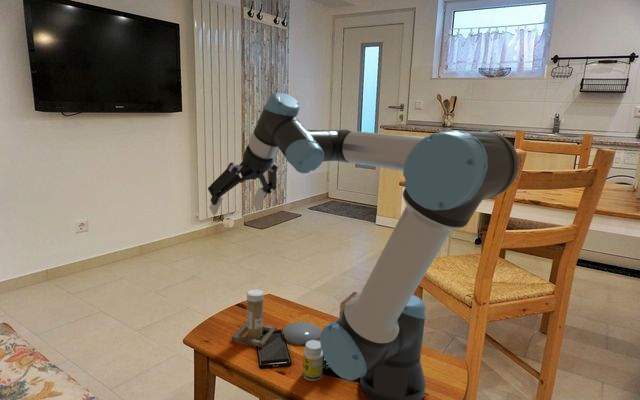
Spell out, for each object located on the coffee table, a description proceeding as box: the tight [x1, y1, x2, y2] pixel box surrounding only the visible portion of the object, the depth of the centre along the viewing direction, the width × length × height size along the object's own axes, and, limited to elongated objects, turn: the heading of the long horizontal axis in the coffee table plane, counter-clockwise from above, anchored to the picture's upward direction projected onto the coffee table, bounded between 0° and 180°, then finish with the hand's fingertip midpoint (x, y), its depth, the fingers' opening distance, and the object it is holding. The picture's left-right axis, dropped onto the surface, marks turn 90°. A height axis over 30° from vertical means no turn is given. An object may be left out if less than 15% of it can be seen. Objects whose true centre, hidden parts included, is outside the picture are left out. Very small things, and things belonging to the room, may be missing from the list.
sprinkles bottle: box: [246, 289, 265, 339], centre depth 117 cm, size 5×5×13 cm
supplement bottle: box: [302, 340, 324, 382], centre depth 101 cm, size 5×5×8 cm
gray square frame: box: [231, 321, 278, 348], centre depth 118 cm, size 9×9×1 cm
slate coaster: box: [282, 321, 322, 346], centre depth 121 cm, size 11×11×1 cm
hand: (234, 208), depth 117 cm, fingers open, 13 cm apart
